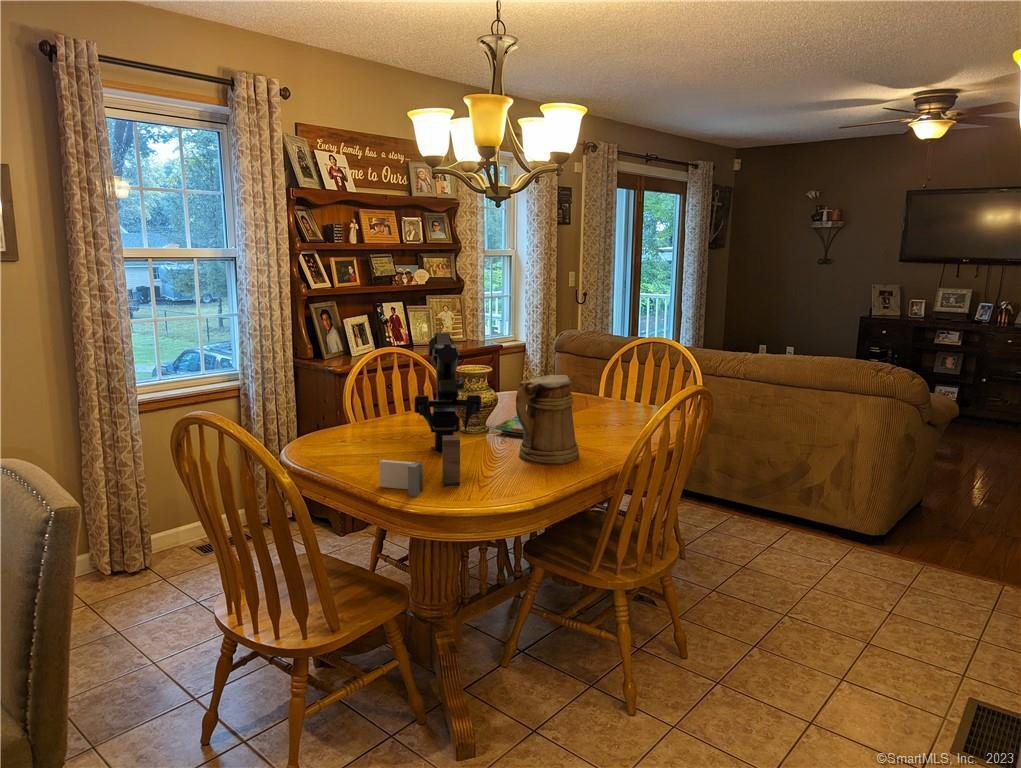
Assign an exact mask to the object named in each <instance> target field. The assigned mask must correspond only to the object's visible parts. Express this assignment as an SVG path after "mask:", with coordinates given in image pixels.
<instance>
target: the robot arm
mask: <svg viewBox="0 0 1021 768" xmlns="http://www.w3.org/2000/svg"><path fill="white" fill-rule="evenodd" d="M428 357H430V363H431V365H432V366H433V367H434V368H435V379H436V381H435V382H436V399H429V395H424V394H423V395H421V394H419V395H418V394H417V395H415V397H414V413H416V414H419V416H422V417H423V418H424V419H425V421H426V422H427V425H428V426H429V430H430V432H431V433H432V434H433V433H434V445H433V446H430V449H431V450H433V451H435V452H437V453H440V454H442V436H448V435H454V433H458V432H459V431H460V427H461V417H460V416H459V413H458V412H457V410H456V409H457V408H458V407H459V408H460V407H465V415H464V416H465V417H464V431H467V429H468V425H469V423H470V419H471V417H472V416H473V415H476V414H477V413H479V412H481V408H482V396H481V395H480V394H467V395H466V399H458V398H459V391H461V390H462V391H463V390H464V389H465V380H464V377H457V369H458V361H460V360H461V359H462V353H461V352H460V350H459V348H457V345H456V344H455V340H454V339H452V337H451V333H449V332H448V331H447V332H446V331H445V332H444V331H443V332H441V331H440V332H436V333H435V332H434V336H433V337H432V338H430V339H429V341H428ZM456 407H457V408H456ZM431 408H432V409H431ZM431 410H432V411H431Z"/></svg>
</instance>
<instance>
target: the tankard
mask: <svg viewBox="0 0 1021 768" xmlns="http://www.w3.org/2000/svg"><path fill="white" fill-rule="evenodd" d="M571 384H572V382H571V380H570V378H569V376H568V375H567V374H550V375H549V374H548V375H543V376H542V375H541V376H538V377H533V378H530V379H529V380H527V381H520V382H519V385H518V387H517V391H516V395H515V410H516V415H517V416H518V419H519V421H520V423H521V425H522V427H523V429H524V435H523V436H522V441H521V442H520V444H519V448H520V449H519V452H518V455H519V457H520V458H522V459H523V460H524V461H527V462H530V463H532V464H536V463H537V465H543V466H544V465H546V466H547V465H549V466H550V465H551V466H552V465H554V466H556V465H563V464H568V463H571V462H573V461H575V460H576V459H577V458H578V457H579V456H580V452H579V451H580V449H579V445H578V443H577V439H576V434H575V433H576V432H575V426H574V425H575V424H574V416H573V409H572V406H573V404H574V400H573V394H572V392H571V391H570V385H571Z"/></svg>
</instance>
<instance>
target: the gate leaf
mask: <svg viewBox="0 0 1021 768" xmlns="http://www.w3.org/2000/svg"><path fill="white" fill-rule="evenodd" d="M411 463H418V464H419V484H420V491H423V485H424V483H423V462H422V461H416V462H413V461H403V460H402V461H401V460H391V459H380V461H379V487H380V488H387V489H388V488H389V489H390V488H391V489H400V490H408V466H409V465H410V464H411Z"/></svg>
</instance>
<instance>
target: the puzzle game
mask: <svg viewBox="0 0 1021 768" xmlns="http://www.w3.org/2000/svg"><path fill="white" fill-rule="evenodd" d="M495 429H496V430H498V431H501V432H502V433H503V434H506V435H513V436H521V437H523V435H524V429H523V427H522V425H521V423H520V421H519V419H518V416H517V414H516V415H514V416H512V417H510V418H508V419H506V420H504V421H503V422H500V423H498V424H497V425H495Z"/></svg>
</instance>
